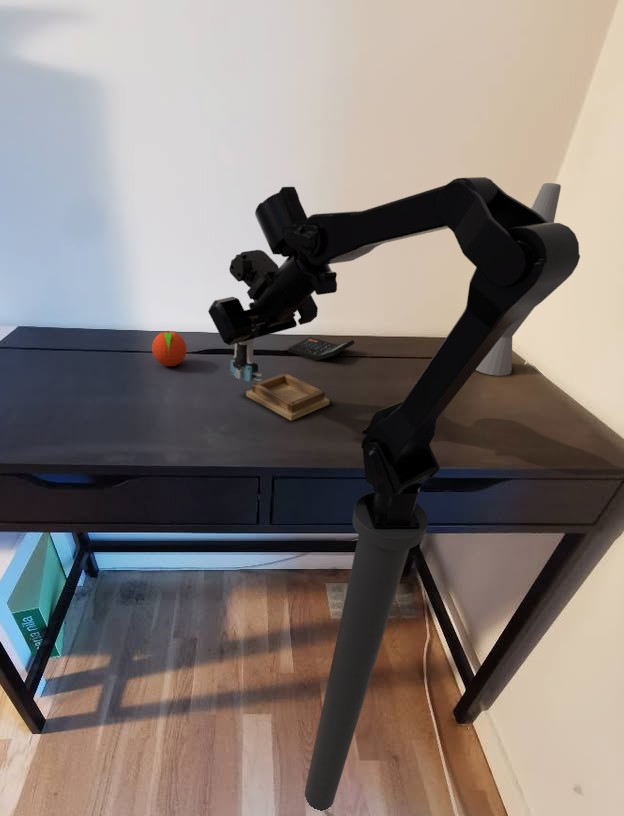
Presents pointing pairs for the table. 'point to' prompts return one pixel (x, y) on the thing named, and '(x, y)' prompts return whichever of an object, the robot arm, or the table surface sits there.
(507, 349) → the lava lamp
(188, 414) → the table surface
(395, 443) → the robot arm
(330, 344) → the calculator
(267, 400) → the base pad
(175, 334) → the clementine
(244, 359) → the push button
